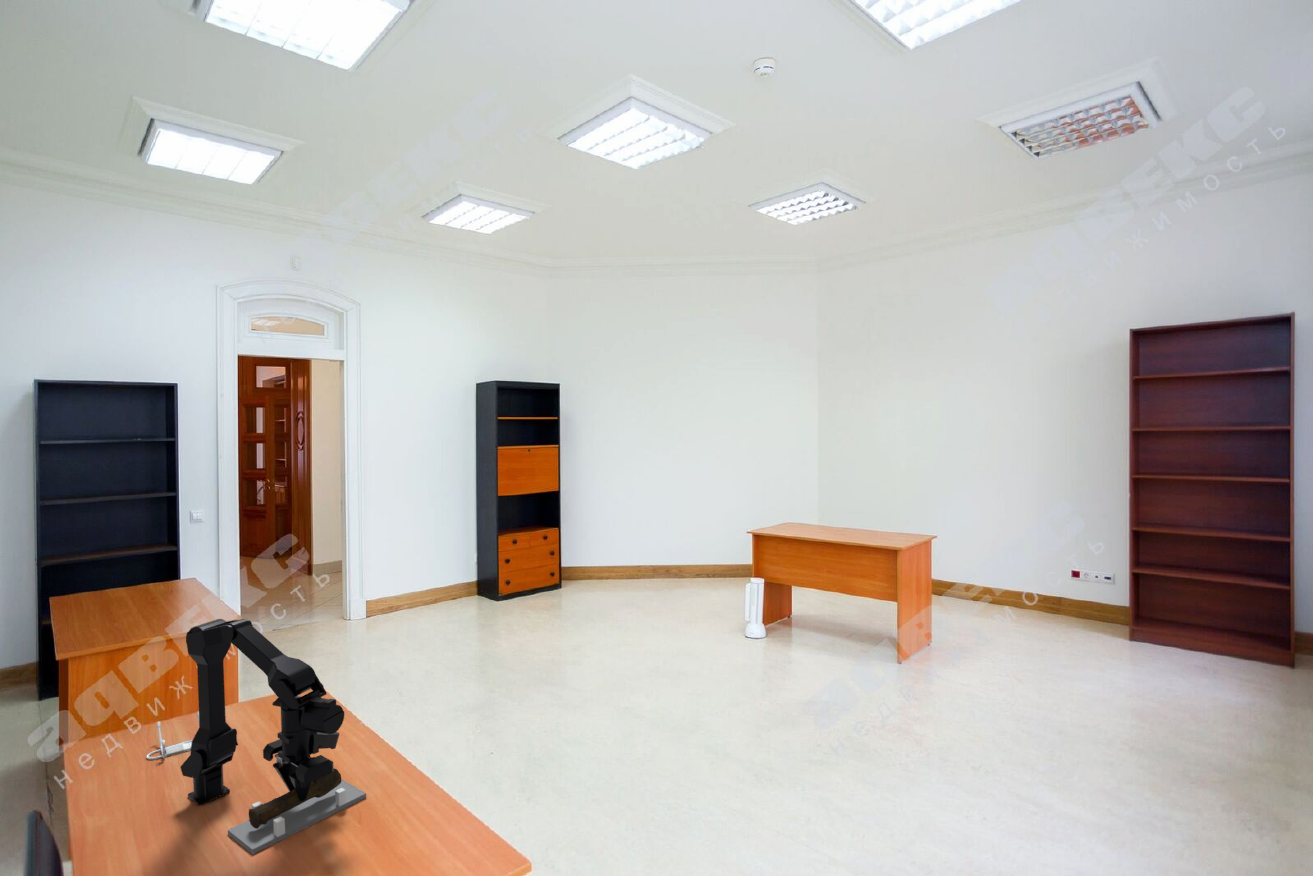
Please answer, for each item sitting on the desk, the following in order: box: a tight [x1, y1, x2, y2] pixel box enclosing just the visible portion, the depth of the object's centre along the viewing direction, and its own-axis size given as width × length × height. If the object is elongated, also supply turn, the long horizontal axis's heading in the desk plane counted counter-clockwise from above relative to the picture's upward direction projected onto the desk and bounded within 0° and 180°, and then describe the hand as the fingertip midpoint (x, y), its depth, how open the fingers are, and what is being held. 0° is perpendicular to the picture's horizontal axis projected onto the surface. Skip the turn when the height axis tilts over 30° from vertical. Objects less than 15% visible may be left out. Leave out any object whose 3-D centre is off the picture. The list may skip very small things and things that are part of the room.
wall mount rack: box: [146, 710, 199, 760], centre depth 180 cm, size 16×14×6 cm
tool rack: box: [227, 778, 367, 855], centre depth 149 cm, size 11×24×4 cm, turn 144°
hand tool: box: [248, 768, 342, 829], centre depth 148 cm, size 19×4×5 cm, turn 141°
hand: (298, 797), depth 149 cm, fingers closed on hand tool, 3 cm apart
